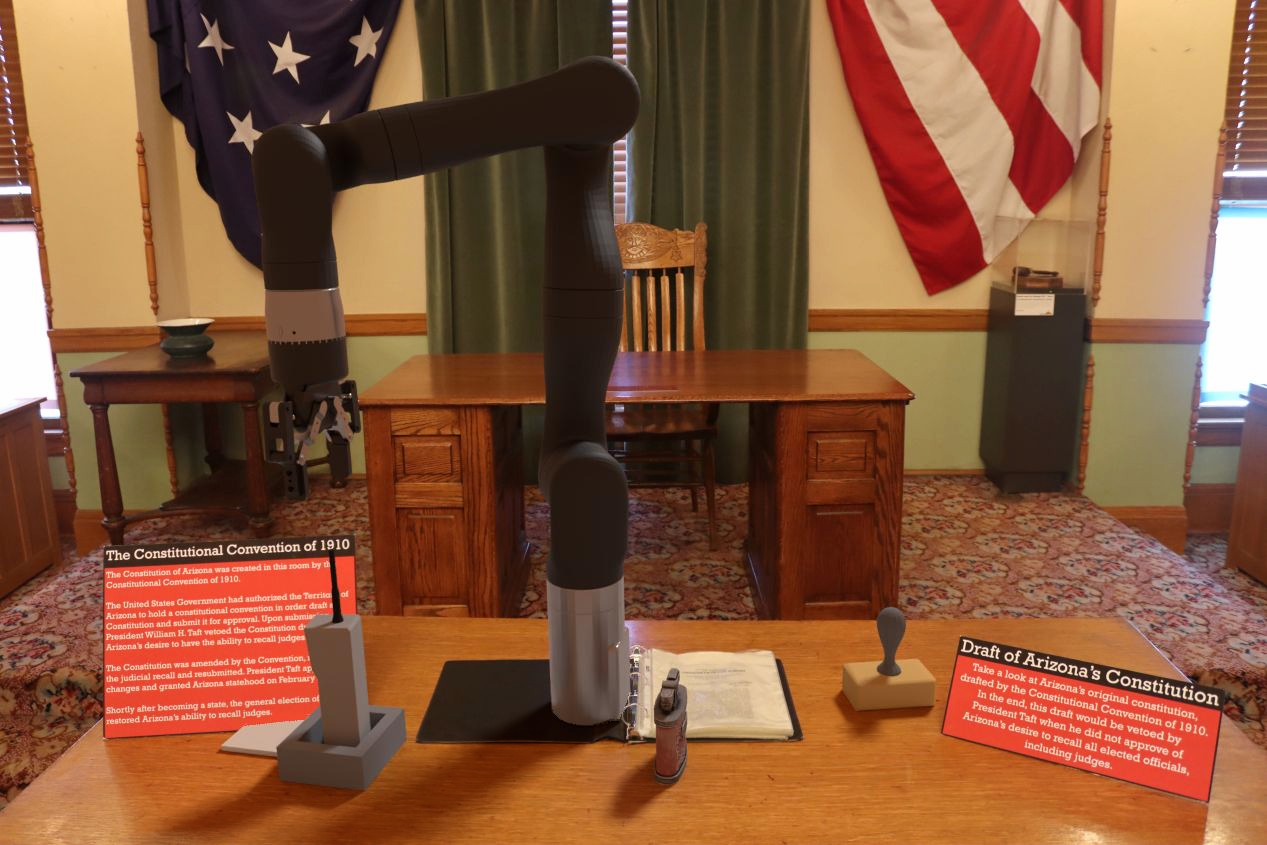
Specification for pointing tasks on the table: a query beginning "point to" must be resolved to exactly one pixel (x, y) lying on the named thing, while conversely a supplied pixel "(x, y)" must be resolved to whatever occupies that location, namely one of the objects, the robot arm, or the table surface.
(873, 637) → the table surface
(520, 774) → the table surface
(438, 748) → the table surface
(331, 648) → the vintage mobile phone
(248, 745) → the tile
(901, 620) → the rubber stamp
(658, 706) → the lighter
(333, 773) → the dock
